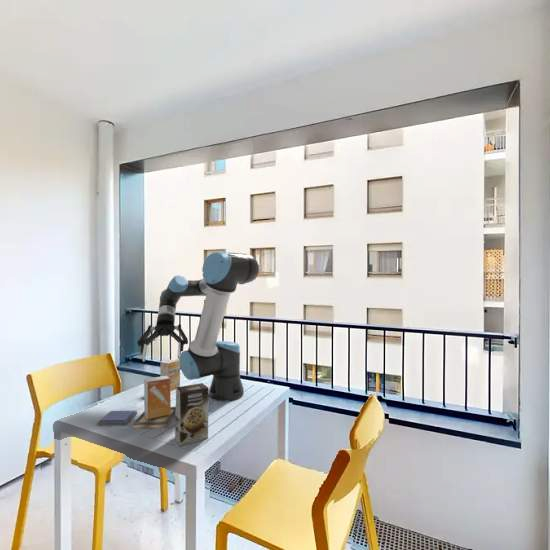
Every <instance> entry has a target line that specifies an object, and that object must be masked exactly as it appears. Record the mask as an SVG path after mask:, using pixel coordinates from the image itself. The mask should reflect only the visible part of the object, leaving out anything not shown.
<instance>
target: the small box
mask: <svg viewBox="0 0 550 550" xmlns="http://www.w3.org/2000/svg"><path fill="white" fill-rule="evenodd" d="M143 380H144V381H143V386H144V387H143V388H144V389H143V394H144V395H143V396H144V398H143V401H144V404H143V405H144V409H143V410H144V411H143V412H144V414H145V416H146V418H147V419H152V418H156V417H161V416H166V415H170V414H171V407H172V406H171V401H172V400H171V391H170V378H169V377H167V376H161V377H160V376H156V377H151V378H150V377H149V378H144V379H143Z"/></svg>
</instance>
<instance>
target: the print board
mask: <svg viewBox="0 0 550 550" xmlns="http://www.w3.org/2000/svg"><path fill="white" fill-rule="evenodd" d="M175 418H176V406H171V414H170V415H166V416H161V417H156V418H152V419H147V418H146V416H145V414H144V411H143V412H141V414H140V415H139V416H138V417H137V418H136V419H135V420H134V422H132V425H131V429H168V427H169V426H170V425H171V423H172V422H173V420H174V419H175Z"/></svg>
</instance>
